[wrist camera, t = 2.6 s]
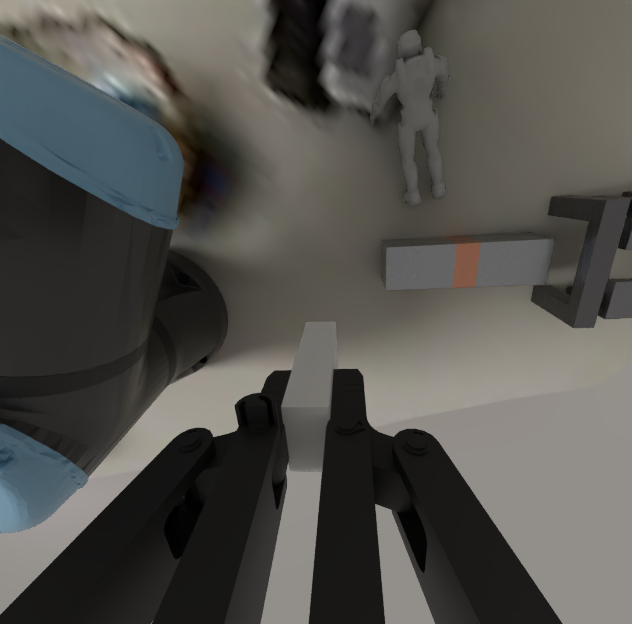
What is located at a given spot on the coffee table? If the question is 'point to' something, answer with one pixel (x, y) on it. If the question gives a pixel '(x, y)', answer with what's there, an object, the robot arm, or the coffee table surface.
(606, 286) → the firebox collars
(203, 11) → the coffee table surface
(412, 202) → the soldier figurine
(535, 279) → the orange-banded grey block
